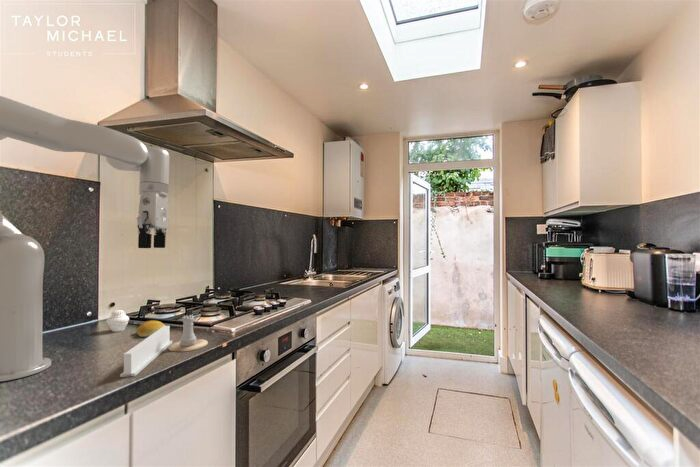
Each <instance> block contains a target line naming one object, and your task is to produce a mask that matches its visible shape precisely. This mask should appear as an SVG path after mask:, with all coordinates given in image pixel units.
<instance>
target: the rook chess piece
mask: <svg viewBox="0 0 700 467" xmlns="http://www.w3.org/2000/svg"><path fill="white" fill-rule="evenodd" d="M181 321H182V323H183V324H182V326H183V328H182V329H183V330H182V335H181V336H180V338H179V341H180V345H181V346H183V347H187V346H192V345H195V344H196V342H197V341H196V339H197V336H196V335H195V333H194V321H195V317H194V315H193V314H186V315H183V316H182V319H181Z"/></svg>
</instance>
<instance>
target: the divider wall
mask: <svg viewBox="0 0 700 467" xmlns="http://www.w3.org/2000/svg"><path fill="white" fill-rule="evenodd" d="M170 328H171V326H170V325H166V326H163V327H162V328H160V329H159V330H158V331H156V332H155V333H153V334H152V335H150V336H149V337H145V339H143V340H142V341H140V342H139V343H137V344H136V345H135V346H133V347H132V348H130V349H129V350H127V351H126V352H124V353H123V371H122V372H121V373H120V374H119V378H128V377H136V376H137V375H138V374H140V372H142V370H144V369H145V368H146V367H147V366H149V364H151V363H152V362H153V361H154V360H155V359H156V358H157V357H158V356H159V355H160V354H161V353H163V352H164V351H165V350H166V349H167V348H168V347H169V346H170V345H171V344H173V340H171V339H170V338H171V336H170V331H171V330H170Z"/></svg>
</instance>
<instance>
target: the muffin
mask: <svg viewBox="0 0 700 467" xmlns="http://www.w3.org/2000/svg"><path fill="white" fill-rule="evenodd" d="M129 321H130V317H129V316H128V315H127V314H126V313H125V311H124V310H122V309H117V310H114V311H113V310H112V312H111V315H110V317H108V318H107V319H106V324H107V325H108V327H109V329H110V330H111V332H114V333H118V332H122V331H124V330H125V329H126V327H127V326H128V323H129Z"/></svg>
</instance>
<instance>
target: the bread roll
mask: <svg viewBox="0 0 700 467" xmlns="http://www.w3.org/2000/svg"><path fill="white" fill-rule="evenodd" d="M163 326H167V325H166V324H164V323H163V322H162V321H159V320H154V319H153V320H146V321H145V322H143V323H141V324H140V325H139V326H138V327H137V329H136V333H137V335H138V336H139V337H140V338H147V337H149V336H150V335H152V334H153V333H155V332H156V331H158V330H159V329H160V328H162V327H163Z"/></svg>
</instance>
